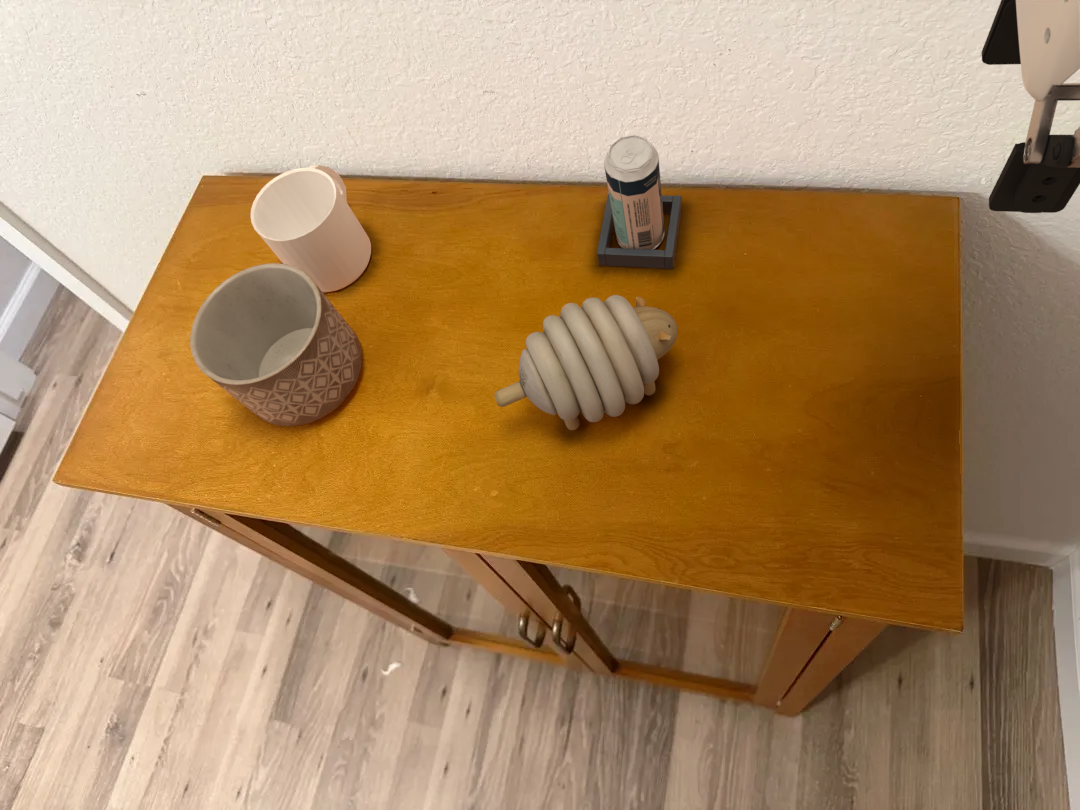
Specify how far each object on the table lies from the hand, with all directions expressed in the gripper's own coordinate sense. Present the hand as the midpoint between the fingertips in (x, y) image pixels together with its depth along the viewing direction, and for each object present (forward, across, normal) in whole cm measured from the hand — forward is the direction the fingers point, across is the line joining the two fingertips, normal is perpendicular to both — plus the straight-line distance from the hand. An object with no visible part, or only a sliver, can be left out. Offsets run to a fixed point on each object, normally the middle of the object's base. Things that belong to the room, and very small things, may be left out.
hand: (1018, 130), depth 39 cm
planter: (+31, -3, +55) cm, 63 cm away
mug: (+31, +12, +56) cm, 65 cm away
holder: (+30, +15, +24) cm, 41 cm away
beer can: (+31, +15, +24) cm, 41 cm away
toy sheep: (+31, -2, +25) cm, 40 cm away
